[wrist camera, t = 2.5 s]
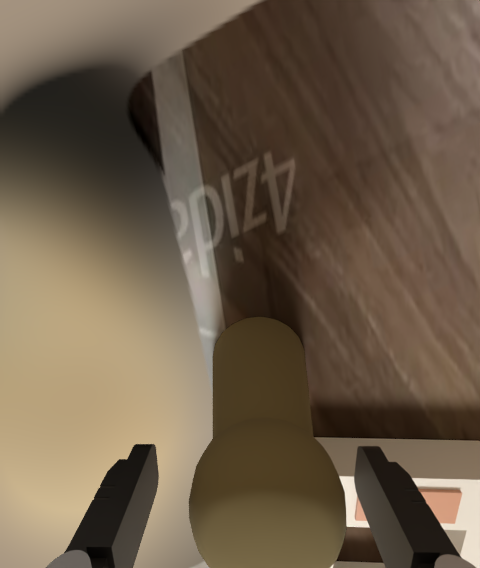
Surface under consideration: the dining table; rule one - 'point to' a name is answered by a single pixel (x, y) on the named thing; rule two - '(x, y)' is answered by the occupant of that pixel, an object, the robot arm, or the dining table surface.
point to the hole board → (421, 485)
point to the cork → (265, 459)
